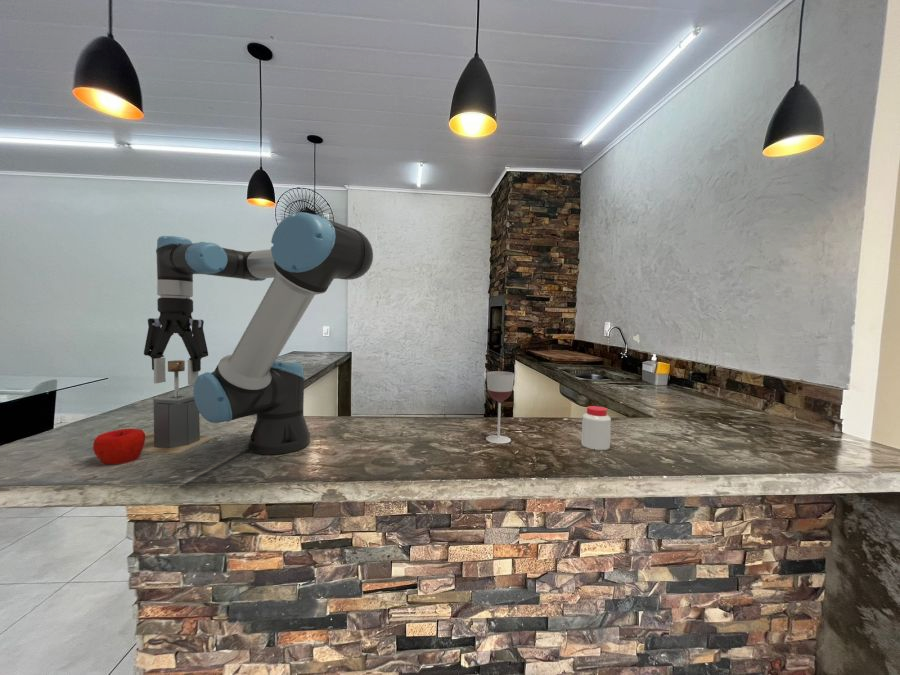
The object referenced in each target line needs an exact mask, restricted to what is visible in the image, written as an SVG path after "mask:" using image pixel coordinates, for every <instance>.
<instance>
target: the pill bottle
mask: <svg viewBox="0 0 900 675" xmlns="http://www.w3.org/2000/svg"><path fill="white" fill-rule="evenodd" d="M581 420H582V421H581V441H580V442H581V445H582V447H585V448H587V449H590V450H594V449H595V450H594V451H607V450H609V449H610V447H611V428H612V427H611V425H612V418H611V416H610V415H609V414H608V408H606V407H604V406H598V405H597V406H596V405H590V406H587V407H586V412H585V413H583V414H582V418H581Z"/></svg>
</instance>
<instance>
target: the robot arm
mask: <svg viewBox="0 0 900 675" xmlns="http://www.w3.org/2000/svg"><path fill="white" fill-rule="evenodd" d="M270 242H271V244H273V245H272V246H271V247H270V249H262V250H253V251H241V250H235V249H231V248H225V247H221V246H220V245H219V244H217V243H215V242H205V241H199V242H195V243H193V241H192V240H190V239H188V238H186V237H181V236H175V235H163V236H159V237H158V238H157V241H156V243H157V244H156V249H155V252H156V276H157V280H156V281H157V284H156V285H157V286H156V290H157V291H156V293H157V294H156V295H157V296H159V297H158V298H157V300H156V302H157V312H159V316H158V318H157V317H156V318H153V317H152V318H151V317H149V318H148V319H147V324H148V329H147V333H146V339H145V344H144V348H143V349H144V350H143V355H144V356H147V357H150V358H151V369H152V371H153V384H161V383H166V357H165V355H164V352H165V351H166V349H167V346H168V344H169V343H170V342H169V341H170V340H171V337H172V336H173V335H174V334H177V335H178V336H179V337H180V338H181V340H182V342H183V344H184V346H185V349H186V350H187V353H188V355H189V358H188V359H187V385H188V386H192V385H193V395H194V399H195V404H196V406H197V409H198V411H199V415H201V416H202V417H203V419H204V420H206V421H207V422H210V423H214V424H220V423H224V422H226V423H228V422H231V421H233V420H237V419H242V418H247V417H249V416H254V415H256V421H255V424H254V426H253V428H252V429H253V430H252V432H251V434H250V437H249V441H248V444H249V445H248V450H250V452H251V453H254V454H259V455H280V454H287V453H293V452H297V451H299V450H302V449H304V448H306V447H307V446H309V445H310V443H311V433H310V430H309V428H308V425H307V422H306V419H305V416H304V402H305V400H304V398H305V397H304V394H305V392H304V391H305V376H304V367H303V365H302V364H301V363H299V362H290V361H277V359H278V357H279V356H280V354H281V352H282V350H284V347H285V346H286V344H287V342H288V340H290V337H291V336H292V334H293V332H294V330H295V329H296V327H297V326H298V324H299V322H300V320H301V319H302V317H303V316H304V314H305V312H306V311H307V309H308V308H309V307H310V306H309V305H310V304H311V302H312V301H313V299H314V298H315V296H316V295H322V294H325V293H326V292H327V291H328V290H329V289H328V288H329V287H330V286H331V284H332V282H333V281H334V279H339V280H345V281H346V280H349V281H350V280H357V279H359V278H361V277H363V276H364V275H365V274H366V273H367V272H368V271H369V270H370V268H371V267H372V264H373V260H374V250H373V247H372V244H371V243H370V241H369V239H368V237H366V235H365V234H363V233H362V232H361V231H360V230H357V229H356V228H352V227H350V226H347V225H344V224H342V223H339V222H335V221H333V220H331V219H328V218H326V217H325V216H322V215H319V214H314V213H313V214H312V213H309V212H301V211H299V212H296V213H295V212H294V213H292V214H289V215H288V216H286V217H284V218H283V219H282V220H281V221H280V222H279V223H278V224H277V226H276V227H275V229H274V231H273V233H272V237H271V240H270ZM194 275H206V276H214V277H223V278H233V279H239V280H241V279H242V280H248V281H250V282H251V281H252V282H253V281H254V282H257V281H260V282H261V281H265V280H266V279H272V278H273V279H272V281H271V283H270V285H269V286H268V289H267V291H266V292H265V294H264V296H263V297H262V299H261V302H260V303H259V305H258V307H257V309H256V311H255V312H254V314H253V315H252V318H251V319H250V321H249V323H248V325H247V327H246V328H245V329H244V331H243V333H242V335H241V338H240V339H239V341H238V343H237V345H236V346H235V348H234V349H233V352H232V354H227V355H226V356H224V357H222V358H221V359H220V360H219V362H218V363H217V365H216V367H215V369H214V371H212V372H210V371H207V372H204V373H201V374H199V372H201V369H202V367H201V366H202V362H201V360H202V359H203V358H206V357H208V356H209V350H208V346H207V342H206V337H205V332H204V323H205V322H204V320H203V319H195V318H193V316H192V314H193V313H194V300H193V299H192V297H194V287H193V286H194Z"/></svg>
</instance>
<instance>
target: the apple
mask: <svg viewBox="0 0 900 675" xmlns="http://www.w3.org/2000/svg"><path fill="white" fill-rule="evenodd" d="M145 433H146V432H144V430H142V429H140V428H139V429H137V428H123V429H117V430H112V431H108V432H104V433H101V434H98V435H97V437H95V439H94V440H93V445H92V450H93V453H94V455H95V456H96V457H97V459H98V460H100V461H101V462H102V463H103V464H104V465H105V464H106V465H119V464H120V465H121V464H127V463H130V462H133V461H136V460H137V459H139V457H140V456H141V453H142V452H143V451H142V449H143V446H144V442H145Z"/></svg>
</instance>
